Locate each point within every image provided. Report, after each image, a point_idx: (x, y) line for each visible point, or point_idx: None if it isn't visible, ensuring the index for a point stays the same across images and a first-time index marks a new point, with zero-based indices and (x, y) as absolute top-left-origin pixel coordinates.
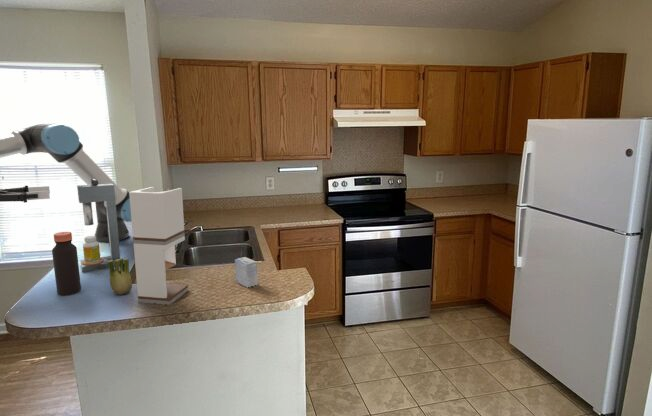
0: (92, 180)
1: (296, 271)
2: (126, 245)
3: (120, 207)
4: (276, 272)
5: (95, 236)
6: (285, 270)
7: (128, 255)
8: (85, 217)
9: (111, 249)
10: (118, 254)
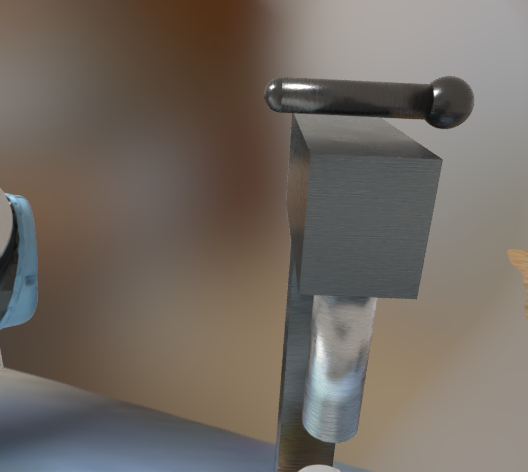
0: (461, 84)
1: (521, 253)
2: (22, 437)
3: (6, 267)
4: (524, 269)
5: (317, 465)
6: (512, 260)
7: (200, 455)
8: (361, 387)
9: None
10: None
